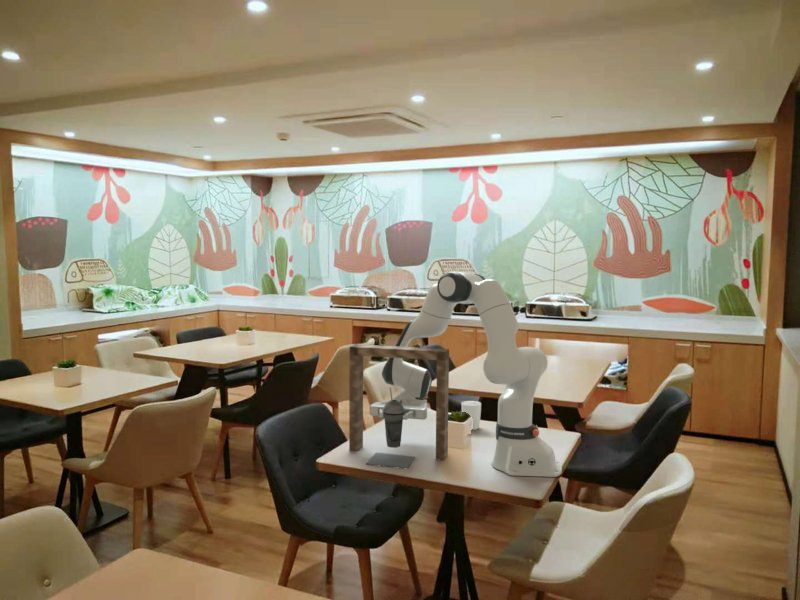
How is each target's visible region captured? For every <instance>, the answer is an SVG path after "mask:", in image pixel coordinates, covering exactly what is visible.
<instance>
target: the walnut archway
mask: <svg viewBox="0 0 800 600" xmlns="http://www.w3.org/2000/svg"><path fill="white" fill-rule="evenodd" d="M348 350H349V355H348V356H349V357H348V358H349V361H348V362H349V365H348V367H349V368H348V369H349V373H348V374H349V379H348V380H349V383H348V385H349V392H348V394H349V395H348V396H349V398H348V399H349V401H348V403H349V405H348V406H349V407H348V409H349V413H348V414H349V417H348V418H349V422H348V426H349V429H348V430H349V431H348V433H349V434H348V435H349V437H348V439H349V440H348V443H349V444H348V445H349V449H348V450H349V451H350V452H356V453H357V452H358V451H360V450H361V449H362V448H363V447H364V357H374V358H376V357H377V358H388V359H389V358H402V359H408V360H409V359H411V360H430V361H436V396H435V397H436V398H435V400H436V404H435V406H436V407H435V411H436V413H435V460H438V459H440V461H445V460H446V458H447V456H448V453H449V452H448V451H449V449H448V446H449V444H448V443H449V441H448V440H449V384H450V383H449V381H450V380H449V379H450V377H449V375H450V373H449V372H450V368H449V367H450V348H441V347H440V348H437V347H436V348H435V347H420V346H419V347H418V346H416V347H415V346H408V347H399V346H394V345H380V344H378V345H375V344H374V345H372V344H356V343H355V344H353V345H351V346H349V349H348Z"/></svg>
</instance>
